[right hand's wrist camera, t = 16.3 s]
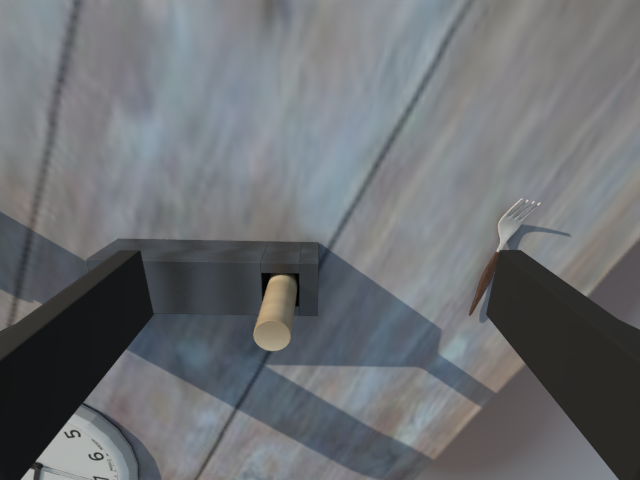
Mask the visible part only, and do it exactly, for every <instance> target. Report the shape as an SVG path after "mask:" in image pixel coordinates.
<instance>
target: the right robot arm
mask: <svg viewBox="0 0 640 480" xmlns="http://www.w3.org/2000/svg"><path fill="white" fill-rule="evenodd" d="M153 315H154V313H153V308H152V303H151V299H150V294H149V289H148V284H147V279H146V274H145V269H144V265H143V260H142V255H141V250H119V251H118V252H116V253H115V254H113V255H112V256H111V257H109V258H108V259H106V260H105V261H104V262H102V263H101V264H99V265H98V266H96V267H95V268H94V269H92V270H91V271H89V272H88V273H87V274H85V275H84V276H82V277H81V278H80V279H78V280H77V281H75V282H74V283H73V284H71V285H70V286H68V287H67V288H65V289H64V290H63V291H61V292H60V293H58V294H57V295H56V296H54V297H53V298H51V299H50V300H49V301H47V302H46V303H44V304H43V305H42V306H40V307H39V308H37V309H36V310H35V311H33V312H32V313H30V314H29V315H27V316H26V317H25V318H23V319H22V320H20V321H19V322H18V323H16V324H14V325H12V326H10V327H8V328H6V329H4V330H2V331H0V480H21V479H22V478H23V476H24V475H25V474H26V473H27V472H28V470H29V469H30V468H31V467H32V465H33V464H34V463H35V462H36V460H37V459H38V458H39V457H40V455H41V454H42V453H43V452H44V450H45V449H46V448H47V447H48V445H49V444H50V443H51V442H52V440H53V439H54V438H55V437H56V435H57V434H58V433H59V432H60V430H61V429H62V428H63V427H64V426H65V424H66V423H67V422H68V421H69V419H70V418H71V417H72V416H73V414H74V413H75V412H76V411H77V409H78V408H79V407H80V406H81V404H82V403H83V402H84V401H85V399H86V398H87V397H88V396H89V394H90V393H91V392H92V391H93V389H94V388H95V387H96V386H97V384H98V383H99V382H100V381H101V379H102V378H103V377H104V376H105V375H106V373H107V372H108V371H109V370H110V368H111V367H112V366H113V365H114V363H115V362H116V361H117V360H118V358H119V357H120V356H121V355H122V353H123V352H124V351H125V350H126V348H127V347H128V346H129V345H130V343H131V342H132V341H133V340H134V338H135V337H136V336H137V335H138V333H139V332H140V331H141V330H142V329H143V327H144V326H145V325H146V324H147V322H148V321H149V320H150V319H151V317H152V316H153ZM486 315H487V316H488V317H489V319H490V320H491V321H492V322H493V324H494V325H495V326H496V327H497V329H498V330H499V331H500V332H501V333H502V335H503V336H504V337H505V338H506V340H507V341H508V342H509V343H510V345H511V346H512V347H513V348H514V350H515V351H516V352H517V353H518V355H519V356H520V357H521V358H522V360H523V361H524V362H525V363H526V365H527V366H528V367H529V368H530V370H531V371H532V372H533V373H534V375H535V376H536V377H537V378H538V379H539V381H540V382H541V383H542V384H543V386H544V387H545V388H546V389H547V391H548V392H549V393H550V394H551V396H552V397H553V398H554V399H555V401H556V402H557V403H558V404H559V406H560V407H561V408H562V409H563V410H564V412H565V413H566V414H567V416H568V417H569V418H570V419H571V421H572V422H573V423H574V424H575V426H576V427H577V428H578V429H579V430H580V432H581V433H582V434H583V435H584V437H585V438H586V439H587V440H588V442H589V443H590V444H591V445H592V447H593V448H594V449H595V450H596V452H597V453H598V454H599V455H600V457H601V458H602V459H603V460H604V461H605V463H606V464H607V465H608V466H609V468H610V469H611V470H612V472H613V473H614V474H615V475H616V476H617V478H618V479H619V480H640V330H639V329H637V328H635V327H633V326H631V325H629V324H627V323H625V322H622V321H620V320H618V319H617V318H615V317H614V316H612V315H611V314H610V313H608V312H607V311H605V310H604V309H603V308H601V307H600V306H598V305H597V304H596V303H594V302H593V301H591V300H590V299H589V298H587V297H586V296H584V295H583V294H582V293H580V292H579V291H577V290H576V289H575V288H573V287H572V286H570V285H569V284H567V283H566V282H565V281H563V280H562V279H560V278H559V277H558V276H556V275H555V274H553V273H552V272H551V271H549V270H548V269H546V268H545V267H544V266H542V265H541V264H539V263H538V262H536V261H535V260H534V259H532V258H531V257H529V256H528V255H527V254H525V253H524V252H522V251H521V250H499V255H498V260H497V265H496V269H495V274H494V279H493V284H492V289H491V294H490V299H489V303H488V308H487V313H486Z"/></svg>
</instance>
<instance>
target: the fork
mask: <svg viewBox="0 0 640 480" xmlns="http://www.w3.org/2000/svg"><path fill="white" fill-rule="evenodd" d="M521 200H522V198H521V199H520V200H519V201H518V202H517V203H516V204H515V205H514V206H513V207H512V208H510V209H509V210H508V212H507V213H506V214H505V215H504V216H503V217H502V218H501V219H500V221H499V223H498V232H499V236H500V245H499V247H498V249H497V251H496V253H495V254H494V256H493V258H492V259H491V261H490V262H489V264H488V266H487V267H486V269H485V271H484V273H483V275H482V277H481V280H480V283H479V286H478V289H477V292H476V295H475V298H474V301H473V303H472V306H471V309H470V312H469V316H470V315H471V314H472V313H473V311H474V309H475V308H476V306H477V304H478V302H479V301H480V299H481V297H482V295H483V294H484V292H485V290H486V289H487V287H488V285H489V283H490V282H491V279H492V277H493V275H494V272H495V269H496V265H497V260H498V255H499V250H502V248H503V246H504V244H505V243H506V241H507V240H508V239H509V238H510V237H511V236H512V235H513V234H514V233H515V232H516V231H517V230H518V228H519V227H520V226H521V224H522V223H523V222H524V220H525V219H526V218H527V217H528V216H529V215H530V214H531V212H532V211H533V210H534V209H535V208H536V207H538V206H539V205H540V204H541V203H539V204H537V205H536V206H535V207H534V208H533V209H532V210H530V211H529V212H528V213H527V214H526V215H525V216H524V217H523V218H521V219H520V217H521V216H522V215H523V213H524V212H525V211H526V210H527V209H528V208H529V207H530V206H531V205H532V204H533V203H534V201H533V202H532V203H531V204H530V205H529V206H527V207H526V208H525V209H524V210H523V211H522V212H521V213H520V214H519V215H518V216H516V217H514V216H515V215H516V213H517V212H518V211H519V210H520V209H521V208H522V207H523V206H524V205H525V204H526V203H527V202H528V200H527V201H526V202H524V203H523V204H522V205H521V206H520V207H519V208H518V209H517V210H516V211H515V212H514V213H513V214H511V215H510V216H508V215H509V214H510V212H511V211H512V210H513V209H514V208H515V207H516V206H517V204H518V203H519V202H520V201H521Z"/></svg>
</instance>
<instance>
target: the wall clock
mask: <svg viewBox="0 0 640 480" xmlns="http://www.w3.org/2000/svg"><path fill="white" fill-rule="evenodd" d="M21 480H138V463H137V460H136V458H135V455H134V452H133V450H132V447H131V446H130V444H129V443H128V442H127V440H126V439H125V438H124V436H123V435H122V434H121V433H120V431H119V430H118V429H117V428H116V427H115V426H113V425H112V424H111V423H110V422H109V421H107V420H106V419H105V418H104V417H102V416H101V415H100V414H99V413H97V412H95V411H93V410H92V409H90V408H88V407H86V406H84V405H82V404H81V406H80V407H79V408H78V409H77V411H76V412H75V413H74V414H73V416H72V417H71V418H70V419H69V421H68V422H67V423H66V424H65V426H64V427H63V428H62V429H61V430H60V432H59V433H58V434H57V435H56V437H55V438H54V439H53V440H52V442H51V443H50V444H49V445H48V447H47V448H46V449H45V450H44V452H43V453H42V454H41V455H40V457H39V458H38V459H37V460H36V462H35V463H34V464H33V465H32V467H31V468H30V469H29V470H28V472H27V473H26V474H25V475H24V476H23V478H22V479H21Z"/></svg>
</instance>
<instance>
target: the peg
mask: <svg viewBox="0 0 640 480" xmlns="http://www.w3.org/2000/svg"><path fill="white" fill-rule="evenodd" d="M298 279H299V273H271V275H270V279H269V282H268V285H267V289H266V292H265V296H264V299H263V302H262V306H261V309H260V312H259V316H258V319H257V323H256V326H255V329H254V340H255V342H256V343H257V344H258V345H259V346H260V347H261V348H263V349H265V350H268V351H278V350H281V349H283V348H285V347H286V346H287V345H288V344H289V342H290V340H291V335H292V327H293V319H294V311H295V303H296V295H297V287H298Z"/></svg>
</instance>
